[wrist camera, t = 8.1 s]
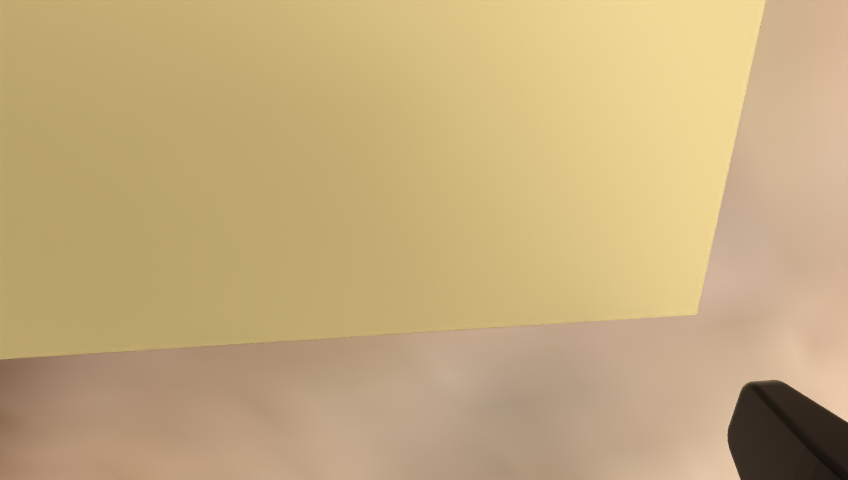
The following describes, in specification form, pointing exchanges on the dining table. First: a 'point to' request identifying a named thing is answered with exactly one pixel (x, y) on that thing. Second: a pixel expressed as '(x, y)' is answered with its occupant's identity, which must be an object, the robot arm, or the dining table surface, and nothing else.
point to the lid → (357, 165)
